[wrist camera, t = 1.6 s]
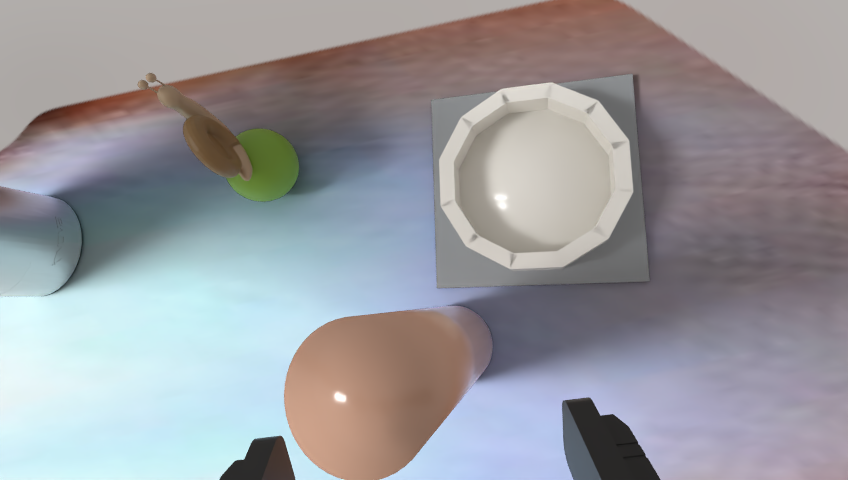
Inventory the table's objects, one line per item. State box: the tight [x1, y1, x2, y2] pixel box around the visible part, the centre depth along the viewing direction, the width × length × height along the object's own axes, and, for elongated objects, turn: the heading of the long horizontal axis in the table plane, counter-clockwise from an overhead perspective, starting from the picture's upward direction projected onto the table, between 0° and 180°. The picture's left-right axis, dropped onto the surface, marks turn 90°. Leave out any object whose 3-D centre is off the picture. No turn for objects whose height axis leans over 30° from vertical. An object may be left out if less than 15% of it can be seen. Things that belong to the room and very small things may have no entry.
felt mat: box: [431, 74, 650, 288], centre depth 33 cm, size 14×14×1 cm
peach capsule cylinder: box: [284, 305, 493, 480], centre depth 25 cm, size 6×6×18 cm
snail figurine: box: [138, 73, 299, 202], centre depth 33 cm, size 5×6×12 cm
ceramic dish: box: [439, 82, 633, 271], centre depth 32 cm, size 12×12×3 cm
